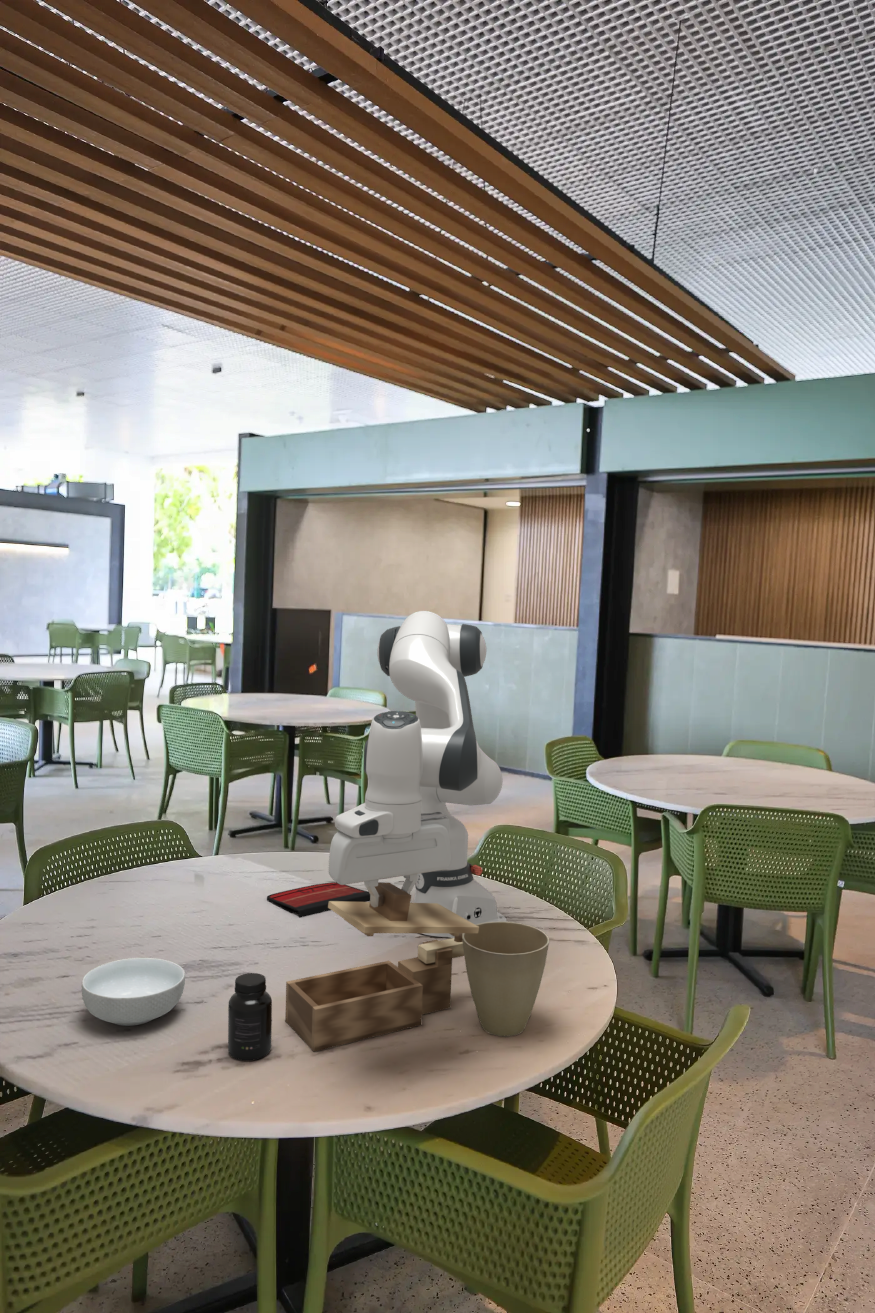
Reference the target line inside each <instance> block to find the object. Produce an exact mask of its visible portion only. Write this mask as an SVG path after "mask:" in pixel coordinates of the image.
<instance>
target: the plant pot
mask: <svg viewBox="0 0 875 1313" xmlns="http://www.w3.org/2000/svg"><path fill="white" fill-rule="evenodd" d="M476 926H478V927H479V931H478V933H463V934H462V940H463V949H464V956H463V957H464V963H465V964H464V965H465V970H466V975H467V980H468V983H469V984H468V985H469V988H470V992H471V993H470V994H471V996H472V1000H473V1004H474V1007H475V1009H476V1013H477V1016H478V1019H479V1022H480V1024H481V1027H482V1029H483V1030H484V1031H485V1032H486V1033H488V1034H491V1035H494V1036H498V1037H513V1036H517V1035H519V1034H521V1033H522V1032H524V1030H525V1028H526V1026H527V1024H528V1022H529V1019H530V1016H531V1014H532V1012H533V1009H534V1008H533V1007H534V1005H535V1002H536V1000H537V997H538V994H539V989H540V987H541V982H542V979H543V977H544V976H543V975H544V972H545V966H546V962H547V957H548V951H549V950H548V949H549V945H550V937H549V935H547V933H545V931H543V930H542V929H539V928H538V927H535V926H532V925H529V924H526V923H520V922H516V921H515V922H514V921H507V922H502V921H500V922H485V923H480V924H476Z"/></svg>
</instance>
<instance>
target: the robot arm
mask: <svg viewBox="0 0 875 1313" xmlns="http://www.w3.org/2000/svg"><path fill="white" fill-rule="evenodd" d="M482 632H483V631H481V629H480V628H478V627H477V626H475V625H471V624H465V623H462V624H461V625H459V624H450V623H446V621H445V620H444V618H442V616H440V615H439V614H437V613H436V612H433V611H428V610H418V611H416V612H412V613H411V614H409V615H408V616H407V617H406V618H405V619H404V621H403V622H402V624H401V626H400V625H398V626H394V627H390V628H387V629H386V630H385V631H384V632H382V634H381V635H380V638H379V641H378V645H377V649H376V650H377V652H376V655H377V661H378V662H379V663H378V664H379V665H380V669H381V671H382V672H383V674H385V675H386V676H387V677H390V680H391V683H392V684H393V686H394V687H395V689H396V690H397V691H398V692H399V693H400V694H402V696H403V697H405V698H407V699H409V700H411V701H414V705H415V706H414V707H415V713H412V712H408V711H403V710H389V711H384V712H381V713H378V714H376V715H375V716H374V717H373V718H372V720H371V724H370V728H369V734H368V739H367V740H366V741H365V744H364V747H363V748H364V751H363V771H364V773H365V774H366V776H367V788H366V791H365V795H364V803H362V804H360V805H357V806H355V807H353V808H351V809H349V810H347V811H345V812H342V813H339V814H338V815H337V816H335V818H334V819H335V820H334V826H335V829H337V830H338V831H337V832H336V833H334V835H333V837H332V839H331V842H330V848H329V856H328V875H329V877H330V878H331V879H332V880H333V882H337V883H339V884H340V885H350V884H359V883H363V885H364V886H365V888H366V891H368V892H369V893H370V901H369V902H370V904H371V906H373V907H380V906H383V905H384V902H383V900H384V896H383V895H382V894H380V893H378V892H377V890H376V888H375V886H378V882H379V880H384V879H386V880H387V879H393V878H398V877H403V879H405V880H404V882H403V884H402V886H401V888H400V889H401V890H403V891H405V892H407V893H408V894H410V895H411V892H412V890H413V889H414V888H415V893H414V899H413V903H438V904H440V905H441V906H443V907H445V908H447V909H448V910H450V911H452V912H454V913H455V914H457V915H459V916H461V917H462V918H464V919H466V920H468V921H469V922H471V923H473V924H475V925H476V924H480V923H485V922H500V921H502V922H508V920H507V918H506V916H504V914H502V913H501V912H499V911H498V906H497V900H496V898H495V895H494V894H493V893H492V892H491V891H489V889H487V888H486V887H484V885H482V884H481V883H480V882H478V881H477V880H476V879H474V875H475V876H476V877H477V876H481V875H482V874H483V867H481V866H479V865H477V864H473V865H472V864H471V863H470V862H468V850H469V849H468V848H469V833H468V829H467V828H466V826H465V824H464V823H463V822H462V821H460V819H458V818H456V817H455V816H454V815H453V814H452V813H451V812H450V811H449V809H448V807H447V804H453V805H454V804H455V805H462V806H472V807H473V806H480V805H481V806H483V805H490V804H492V803H493V802H494V801H495V800H496V799H497V798H498V797H499V795H500V793H501V791H502V789H503V774H502V771H501V768H500V766H499V765H498V763H497V762H496V761H495V760H493V759H492V758H490V757H489V756H488V755H487V754H486V753H485V752H484V751H483V749H482V748H481V747H480V745H479V743H478V740H477V736H476V732H475V728H474V722H473V721H474V720H473V715H472V709H471V708H472V707H471V700H470V695H469V690H468V686H467V682H466V678H465V677H470V676H474V675H476V674H478V672H480V671H481V670H482V669H483V668H484V667H483V665H484V663H485V661H486V658H487V645H486V644H487V643H486V641H485V637H484V636H483V633H482ZM420 934H423V935H425V936H431V937H440V938H441V937H442V938H449V939H451V938H454V936H452V935H451V934H449V933H420Z"/></svg>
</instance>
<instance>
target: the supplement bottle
mask: <svg viewBox="0 0 875 1313" xmlns="http://www.w3.org/2000/svg"><path fill="white" fill-rule="evenodd" d="M266 979H267V978H266V977H265V975H263V974H261V973H257V972H256V973H255V972H248V973H243V974H240V975H238V976H237V977H235V980H234V993H233V994H232V995H231V996H230V998H229V999H228V1009H227V1010H228V1011H227V1012H228V1013H227V1014H228V1016H227V1017H228V1018H227V1049H228V1054H229V1055H230V1057H231V1058H233V1059H236V1060H238V1061H244V1062H246V1061H247V1062H248V1061H249V1062H251V1061H257V1060H260V1059H262V1058H264V1057H266V1056H267V1055H268V1054H269V1053H270V1051H271V1049H272V1028H273V1026H272V1022H273V1018H272V1016H273V1013H272V1012H273V1005H272V1003H273V1000H272V997H271V995H270V993H269V992H267V985H266V984H267V980H266Z"/></svg>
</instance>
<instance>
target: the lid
mask: <svg viewBox="0 0 875 1313" xmlns="http://www.w3.org/2000/svg"><path fill="white" fill-rule="evenodd" d="M375 888H376V890H377V892H378V893H380V894H382V895H383V896H384V900H383V902H384V905H383V906H380V907H373V906H371V904H370V901H367V902H345V901H329V904H328V908H329V909H331V910H330V911H332V912H334V913H335V914H336V915H338V916H339V917H341V918H342V919H343V920H344V921H345V922H347V923H348V924H350V925H351V926H353V927H354V928H355V929H357V930H358V931H360V932H361V933H362V934H364V935H365V936H366V937H374V934H421V933H449V934H451V935H452V936H459V933H478V931H479V927H478V926H476V925H475V924H473V923H471V922H469V921H468V920H466V919H464V918H462V917H461V916H459V915H457V914H455V913H454V912H452V911H450V910H448V909H447V908H445V907H443V906H441V905H440V904H438V903H414V902H412V895H411V893H410V894H408V893H407V892H405V891H403V890H401V888H400V887H398V886H396V885H395V884H393V883H392V882H384V881H383V882H382V881H381V882H380V881H378V886H375Z"/></svg>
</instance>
